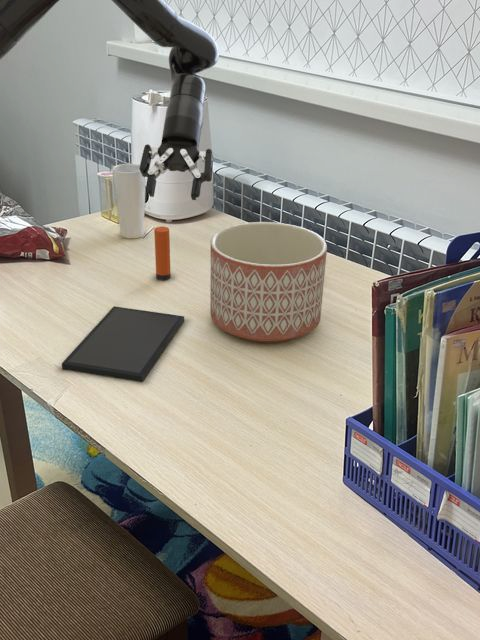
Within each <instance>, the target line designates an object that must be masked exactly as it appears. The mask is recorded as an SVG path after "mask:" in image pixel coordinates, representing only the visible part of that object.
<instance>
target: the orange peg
mask: <svg viewBox="0 0 480 640" xmlns="http://www.w3.org/2000/svg"><path fill="white" fill-rule="evenodd" d="M153 231H154V232H153V233H154V254H155V256H154V257H155V258H154V259H155V277H156V279H157V280H158V281H168V280H170V279H171V277H172V273H171V245H170V243H171V242H170V241H171V240H170V239H171V238H170V228H169V227H168V226H163V225H161V226H156V227H154V230H153Z"/></svg>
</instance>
